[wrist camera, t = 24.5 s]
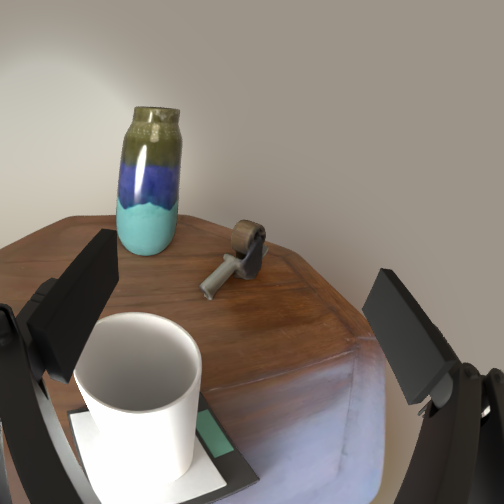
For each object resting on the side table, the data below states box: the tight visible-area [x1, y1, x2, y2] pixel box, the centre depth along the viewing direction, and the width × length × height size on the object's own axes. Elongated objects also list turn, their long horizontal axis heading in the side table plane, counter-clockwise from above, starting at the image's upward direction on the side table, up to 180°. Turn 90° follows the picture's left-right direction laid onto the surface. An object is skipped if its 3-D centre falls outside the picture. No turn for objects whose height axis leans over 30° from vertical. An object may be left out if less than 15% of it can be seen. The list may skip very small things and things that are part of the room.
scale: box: [67, 391, 259, 504], centre depth 23 cm, size 15×17×3 cm
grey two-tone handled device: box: [200, 220, 268, 300], centre depth 56 cm, size 21×6×12 cm, turn 147°
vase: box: [116, 107, 182, 256], centre depth 56 cm, size 14×14×31 cm
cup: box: [73, 312, 202, 484], centre depth 19 cm, size 8×8×16 cm
